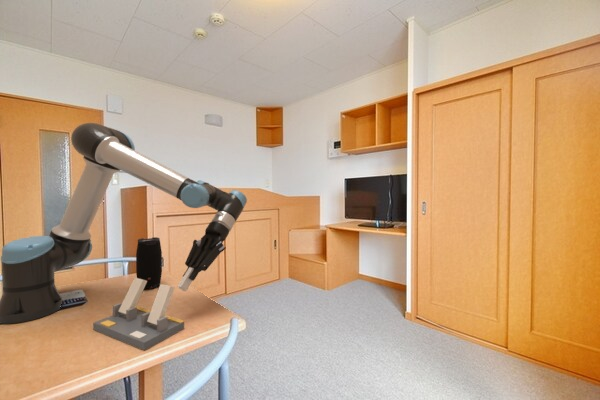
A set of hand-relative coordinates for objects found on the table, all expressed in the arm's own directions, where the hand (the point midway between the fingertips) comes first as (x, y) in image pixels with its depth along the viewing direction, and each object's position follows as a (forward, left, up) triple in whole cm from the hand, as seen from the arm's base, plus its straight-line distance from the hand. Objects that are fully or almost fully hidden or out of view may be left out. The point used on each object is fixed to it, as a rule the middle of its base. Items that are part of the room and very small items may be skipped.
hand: (181, 288), depth 82 cm
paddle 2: (0, -9, -7) cm, 11 cm away
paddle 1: (-13, -9, -7) cm, 17 cm away
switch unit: (-7, -9, -10) cm, 15 cm away
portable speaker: (-35, +14, -10) cm, 39 cm away
